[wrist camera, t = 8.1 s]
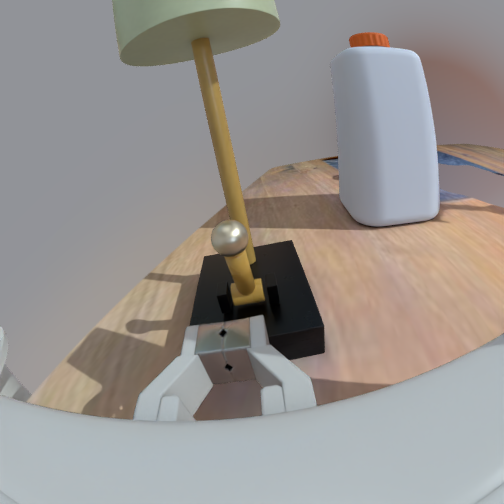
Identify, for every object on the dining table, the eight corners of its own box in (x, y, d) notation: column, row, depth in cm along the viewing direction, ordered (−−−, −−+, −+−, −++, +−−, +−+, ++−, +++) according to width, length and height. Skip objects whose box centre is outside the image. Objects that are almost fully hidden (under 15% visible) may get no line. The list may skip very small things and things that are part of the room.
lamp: (349, 347, 20) (267, -113, 4) (174, 374, 20) (62, -55, 4) (304, 244, 36) (254, -21, 20) (198, 264, 36) (137, 7, 20)
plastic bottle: (407, 190, 47) (392, 47, 34) (448, 221, 33) (434, 31, 21) (335, 198, 49) (311, 47, 36) (358, 233, 35) (329, 21, 23)
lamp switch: (266, 306, 22) (248, 236, 15) (236, 311, 22) (205, 245, 15) (262, 283, 23) (244, 208, 16) (234, 288, 23) (204, 216, 16)
